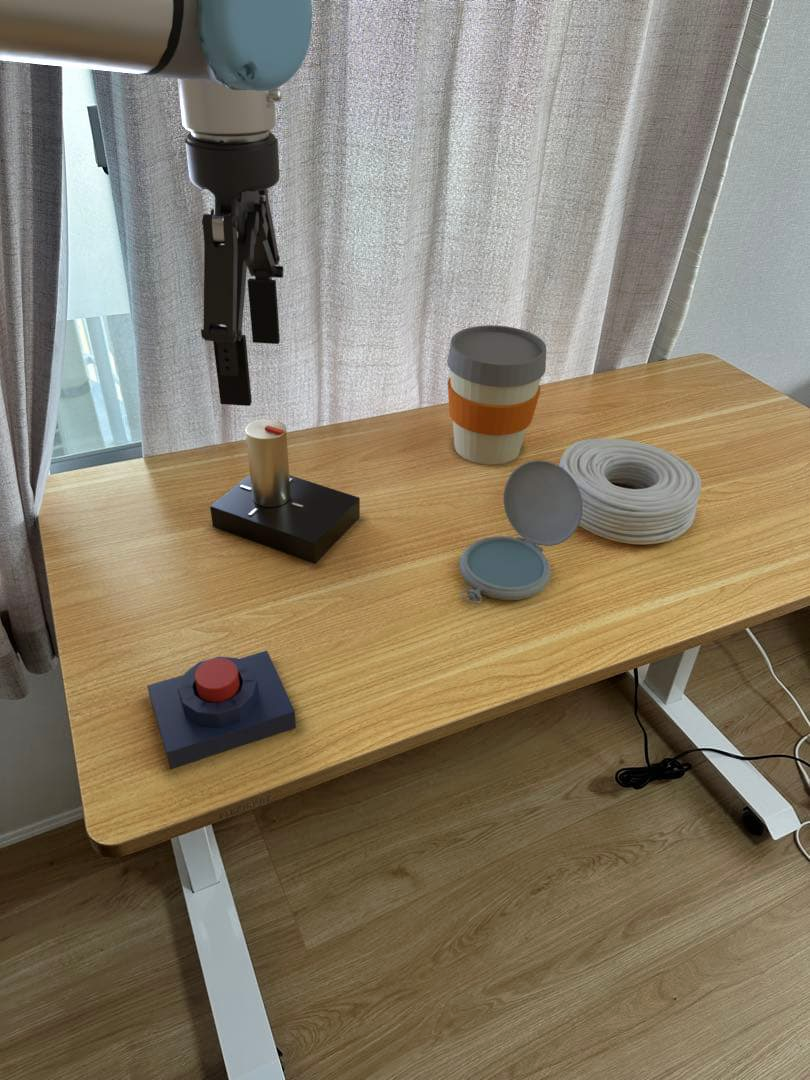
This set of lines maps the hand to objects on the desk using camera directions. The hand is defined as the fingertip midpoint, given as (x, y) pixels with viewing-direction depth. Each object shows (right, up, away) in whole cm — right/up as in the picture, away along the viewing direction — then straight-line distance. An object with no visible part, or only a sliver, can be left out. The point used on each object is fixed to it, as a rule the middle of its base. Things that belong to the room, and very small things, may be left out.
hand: (252, 370), depth 79 cm
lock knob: (-1, -12, +15) cm, 19 cm away
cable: (+42, -13, +21) cm, 48 cm away
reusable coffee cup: (+26, -4, +31) cm, 41 cm away
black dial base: (+1, -15, +16) cm, 22 cm away
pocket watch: (+26, -20, +10) cm, 35 cm away
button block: (-1, -32, -7) cm, 33 cm away
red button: (-1, -29, -9) cm, 31 cm away
